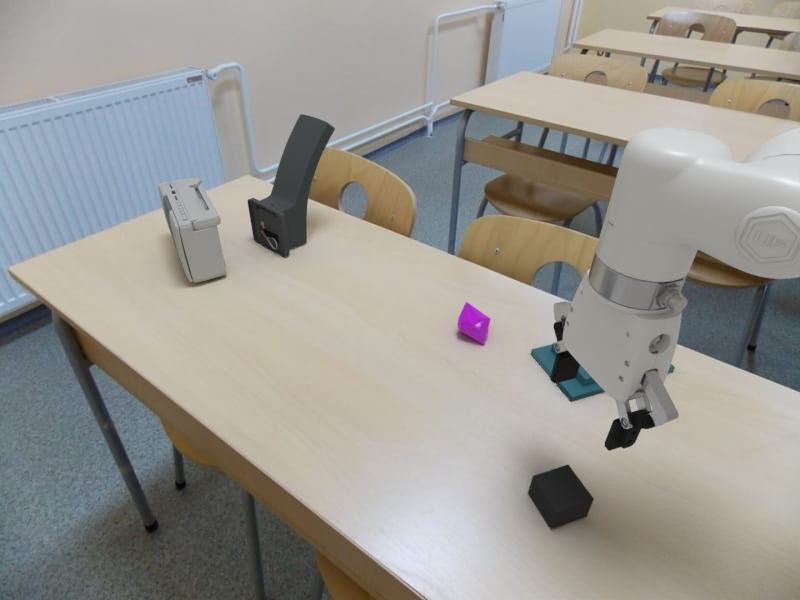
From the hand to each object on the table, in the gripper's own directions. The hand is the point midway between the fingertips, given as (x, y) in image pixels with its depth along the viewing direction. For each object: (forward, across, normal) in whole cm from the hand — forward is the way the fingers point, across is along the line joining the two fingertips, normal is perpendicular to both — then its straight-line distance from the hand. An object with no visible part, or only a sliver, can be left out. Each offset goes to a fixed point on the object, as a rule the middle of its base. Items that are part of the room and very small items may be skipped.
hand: (588, 409), depth 55 cm
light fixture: (+15, +73, +19) cm, 77 cm away
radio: (+15, +70, +40) cm, 82 cm away
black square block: (+14, -2, +2) cm, 14 cm away
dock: (+14, +18, -19) cm, 29 cm away
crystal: (+14, +30, -3) cm, 34 cm away
